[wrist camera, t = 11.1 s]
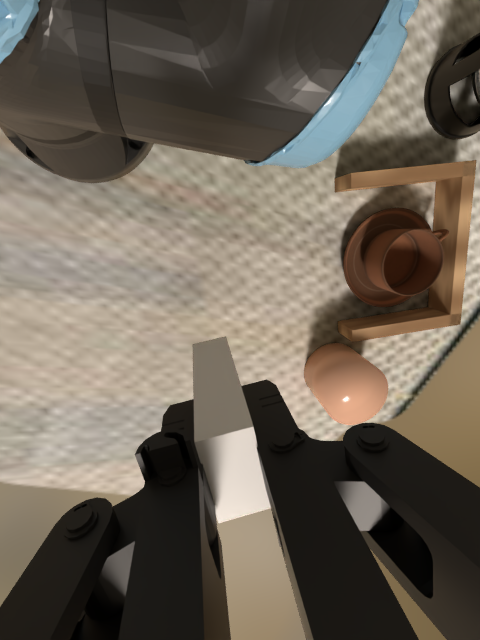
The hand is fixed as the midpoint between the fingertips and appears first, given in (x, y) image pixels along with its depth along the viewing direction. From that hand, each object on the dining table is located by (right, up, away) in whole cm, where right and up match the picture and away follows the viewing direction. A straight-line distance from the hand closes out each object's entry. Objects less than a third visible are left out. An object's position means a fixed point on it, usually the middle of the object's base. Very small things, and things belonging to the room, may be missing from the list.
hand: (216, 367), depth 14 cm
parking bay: (+20, +11, +26) cm, 35 cm away
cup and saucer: (+19, +10, +27) cm, 35 cm away
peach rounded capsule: (+14, -5, +30) cm, 33 cm away
